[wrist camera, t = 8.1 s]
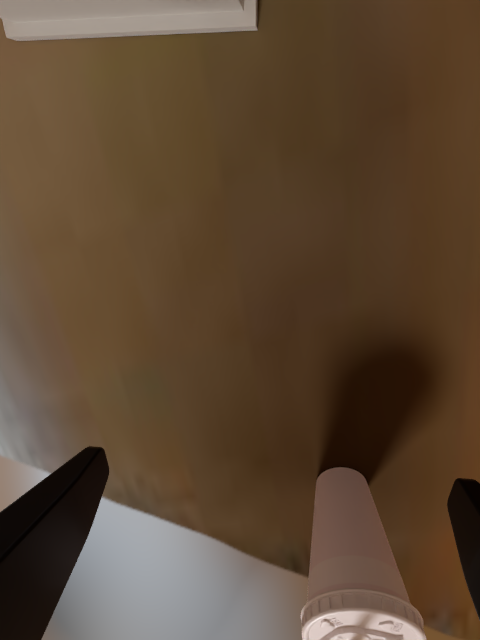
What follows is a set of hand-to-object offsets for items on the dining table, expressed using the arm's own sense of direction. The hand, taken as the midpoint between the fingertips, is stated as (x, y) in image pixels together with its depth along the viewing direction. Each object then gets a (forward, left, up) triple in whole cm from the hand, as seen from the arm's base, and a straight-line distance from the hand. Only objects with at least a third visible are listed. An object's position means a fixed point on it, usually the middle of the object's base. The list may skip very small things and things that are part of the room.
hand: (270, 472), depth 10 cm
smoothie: (-5, +16, -13) cm, 21 cm away
